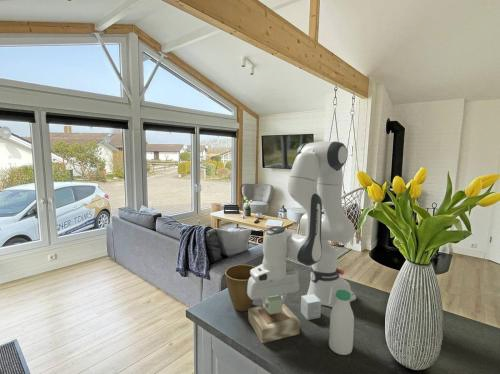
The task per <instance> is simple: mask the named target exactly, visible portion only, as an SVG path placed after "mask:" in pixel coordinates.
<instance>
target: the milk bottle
mask: <svg viewBox="0 0 500 374" xmlns="http://www.w3.org/2000/svg"><path fill="white" fill-rule="evenodd" d="M350 298H351V294H350V293H349V292H348V291H346V290H338V291H337V292H336V299H337V300H336V303H335V305H334V306H333V307H331V308H332V309H331V311H330V316H329V334H328V346H329V348H330V350H331V351H333V352H334V353H335V354H338V355H339V356H340V355H341V356H347V355H350V354H351V353H352V351H353V347H354V346H353V345H354V331H355V329H354V328H355V316H354V311H353V309H352V307H351V302H350Z"/></svg>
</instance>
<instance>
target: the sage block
mask: <svg viewBox="0 0 500 374" xmlns="http://www.w3.org/2000/svg"><path fill="white" fill-rule="evenodd" d="M282 300H283V299H282V298H281V295H276V296H271V297H266V300H265V301H267V302H268V307H267V308H265V309H266V310H267V311H268V313H269V314H274V313H279V312H282Z"/></svg>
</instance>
